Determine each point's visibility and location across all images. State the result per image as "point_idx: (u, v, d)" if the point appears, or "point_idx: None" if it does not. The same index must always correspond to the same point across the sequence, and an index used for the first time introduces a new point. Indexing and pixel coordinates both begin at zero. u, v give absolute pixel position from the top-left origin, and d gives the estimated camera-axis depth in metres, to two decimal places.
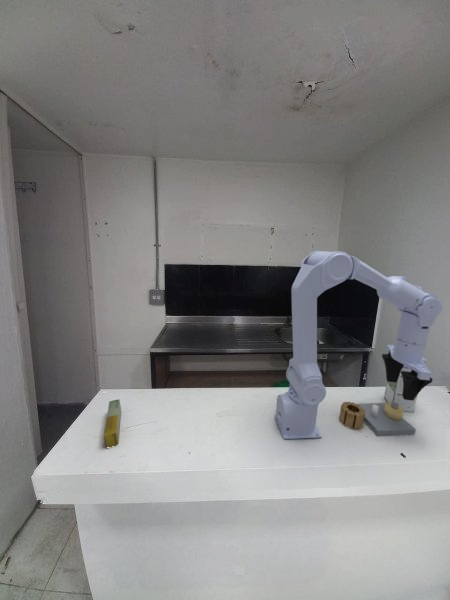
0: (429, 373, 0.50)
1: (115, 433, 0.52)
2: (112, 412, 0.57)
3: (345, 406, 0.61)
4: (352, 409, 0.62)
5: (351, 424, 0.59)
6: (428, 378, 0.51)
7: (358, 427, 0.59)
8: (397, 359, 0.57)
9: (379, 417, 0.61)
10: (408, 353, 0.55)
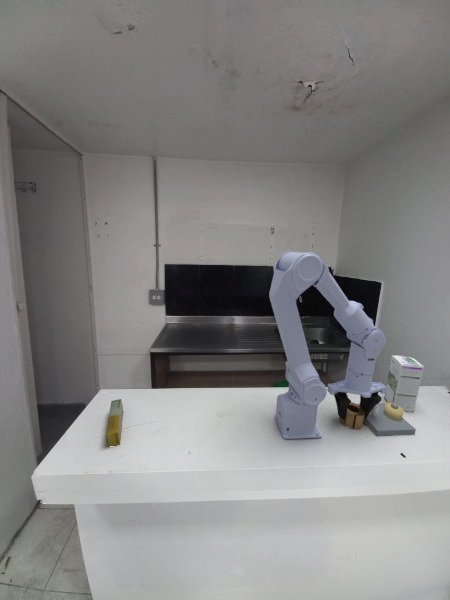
0: (331, 388, 0.58)
1: (117, 433, 0.52)
2: (114, 411, 0.58)
3: None
4: (352, 409, 0.62)
5: (351, 424, 0.59)
6: (330, 392, 0.58)
7: (358, 427, 0.59)
8: None
9: (379, 417, 0.61)
10: None
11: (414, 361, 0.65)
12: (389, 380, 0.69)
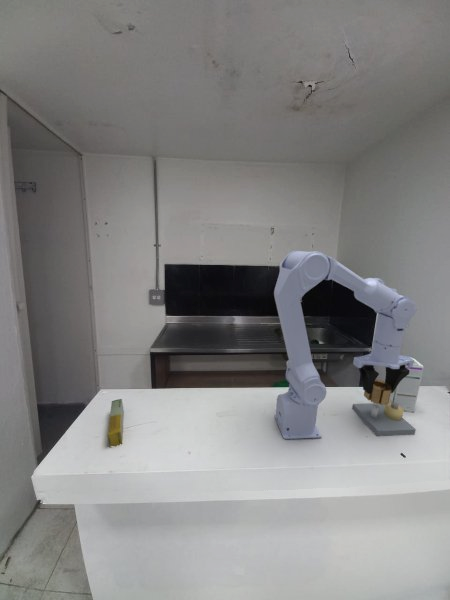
0: (357, 361, 0.57)
1: (119, 432, 0.52)
2: (115, 411, 0.58)
3: None
4: (377, 385, 0.61)
5: (377, 399, 0.58)
6: (357, 365, 0.57)
7: (385, 402, 0.58)
8: None
9: (379, 417, 0.61)
10: (372, 349, 0.59)
11: (414, 361, 0.65)
12: None
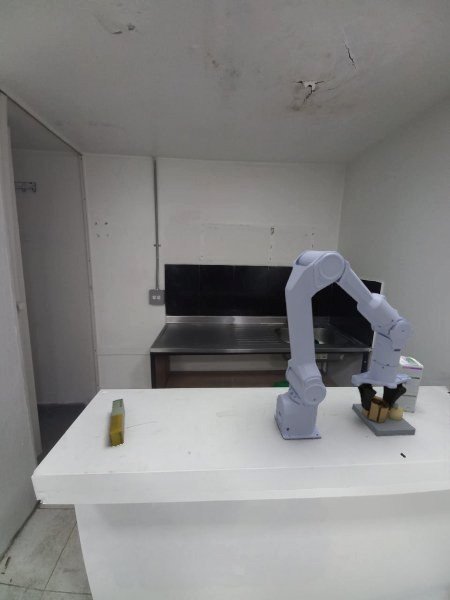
0: (356, 379, 0.58)
1: (121, 431, 0.52)
2: (117, 411, 0.58)
3: None
4: (375, 402, 0.62)
5: (375, 417, 0.59)
6: (355, 384, 0.58)
7: (382, 420, 0.59)
8: None
9: None
10: (370, 367, 0.60)
11: (414, 361, 0.65)
12: None
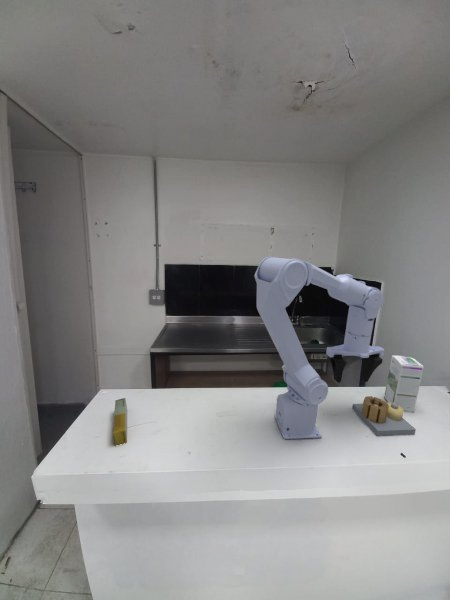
0: (329, 350, 0.59)
1: (124, 431, 0.52)
2: (119, 410, 0.58)
3: (368, 400, 0.62)
4: (374, 403, 0.62)
5: (375, 418, 0.59)
6: (329, 355, 0.59)
7: (382, 421, 0.59)
8: None
9: None
10: (344, 339, 0.61)
11: (414, 361, 0.65)
12: (389, 380, 0.69)
